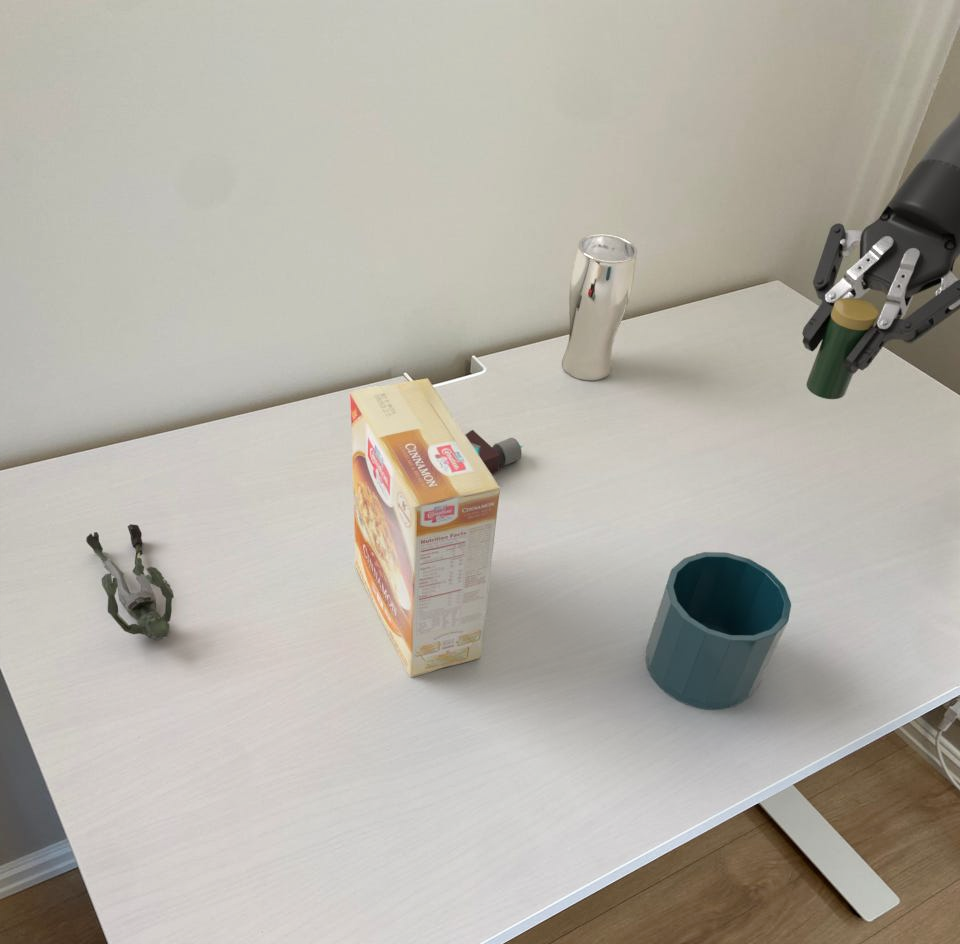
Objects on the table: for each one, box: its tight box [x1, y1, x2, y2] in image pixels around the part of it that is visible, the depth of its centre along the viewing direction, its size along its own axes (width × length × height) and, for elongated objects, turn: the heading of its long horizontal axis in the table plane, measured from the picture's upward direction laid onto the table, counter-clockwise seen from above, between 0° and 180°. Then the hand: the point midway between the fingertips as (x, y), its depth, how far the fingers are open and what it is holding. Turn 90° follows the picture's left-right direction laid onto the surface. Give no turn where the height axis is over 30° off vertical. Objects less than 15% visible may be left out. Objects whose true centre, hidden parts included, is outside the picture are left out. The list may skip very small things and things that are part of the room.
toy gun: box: [464, 429, 523, 474], centre depth 102 cm, size 10×12×5 cm
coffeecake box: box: [349, 377, 501, 678], centre depth 81 cm, size 15×7×20 cm, turn 23°
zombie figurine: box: [85, 523, 175, 641], centre depth 84 cm, size 5×7×15 cm
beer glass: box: [561, 233, 638, 381], centre depth 111 cm, size 7×7×15 cm
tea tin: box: [806, 298, 879, 400], centre depth 86 cm, size 4×4×8 cm
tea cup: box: [645, 551, 792, 710], centre depth 83 cm, size 10×10×9 cm
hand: (828, 356), depth 85 cm, fingers closed on tea tin, 3 cm apart
